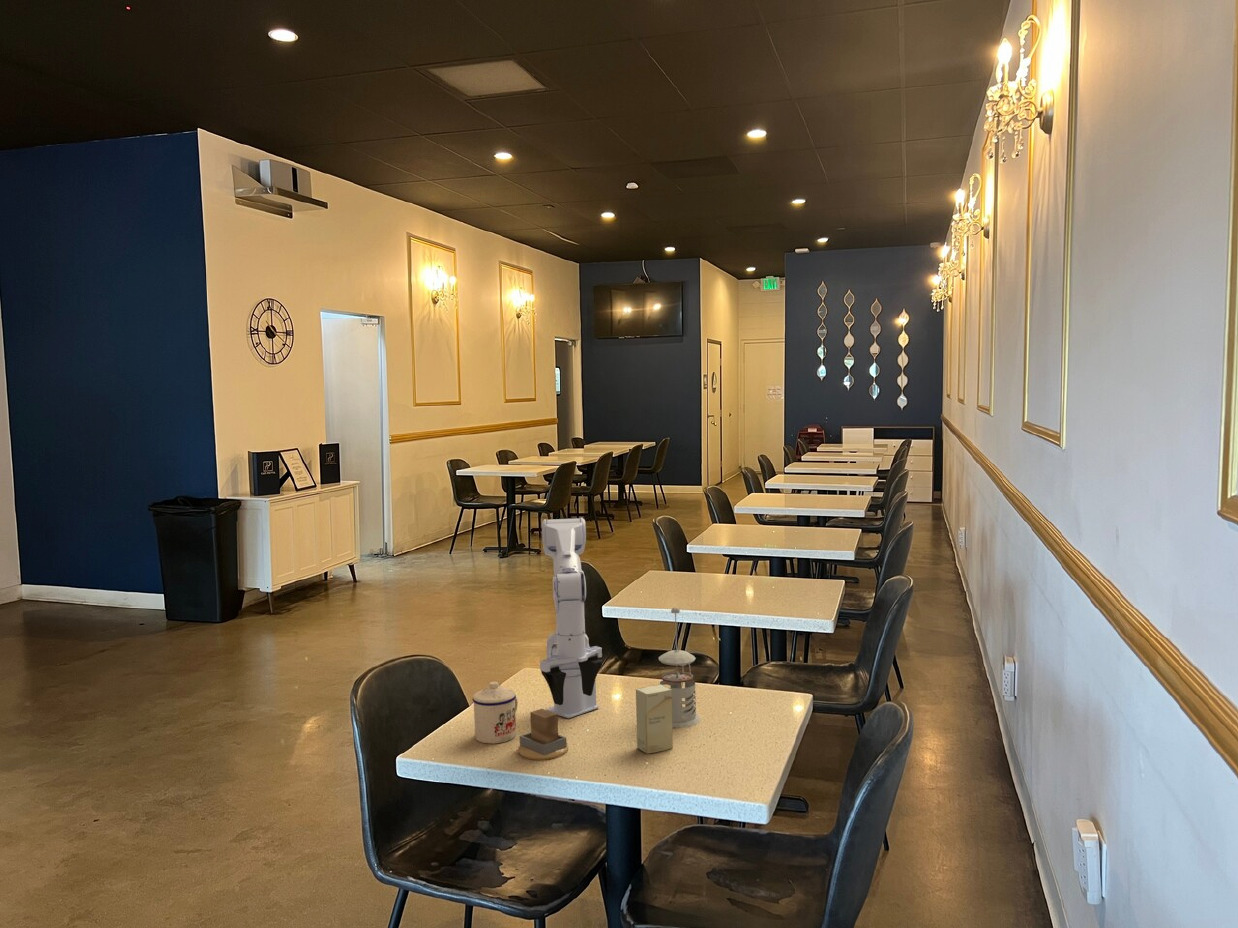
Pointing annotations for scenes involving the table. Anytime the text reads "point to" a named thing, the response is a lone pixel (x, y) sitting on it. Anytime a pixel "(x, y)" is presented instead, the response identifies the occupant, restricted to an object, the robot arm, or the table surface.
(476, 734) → the teacup with lid
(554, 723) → the brown wooden block
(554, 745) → the grey open box
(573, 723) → the table surface
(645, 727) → the skincare box
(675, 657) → the french press
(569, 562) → the robot arm
